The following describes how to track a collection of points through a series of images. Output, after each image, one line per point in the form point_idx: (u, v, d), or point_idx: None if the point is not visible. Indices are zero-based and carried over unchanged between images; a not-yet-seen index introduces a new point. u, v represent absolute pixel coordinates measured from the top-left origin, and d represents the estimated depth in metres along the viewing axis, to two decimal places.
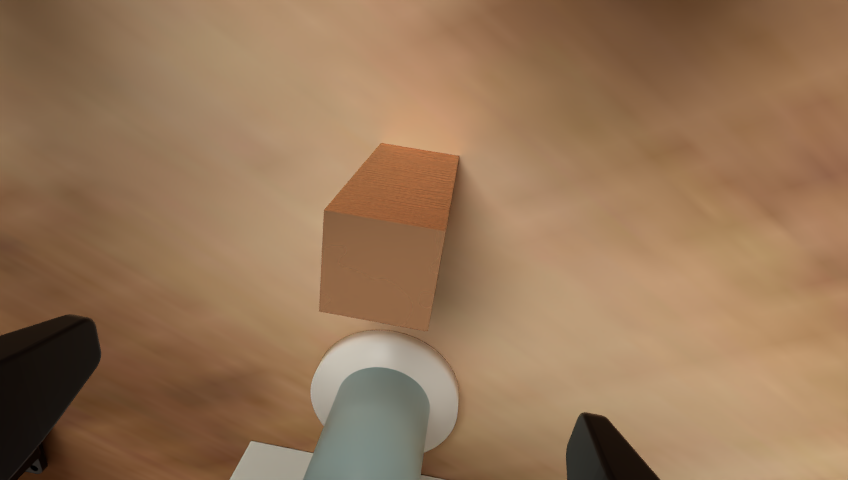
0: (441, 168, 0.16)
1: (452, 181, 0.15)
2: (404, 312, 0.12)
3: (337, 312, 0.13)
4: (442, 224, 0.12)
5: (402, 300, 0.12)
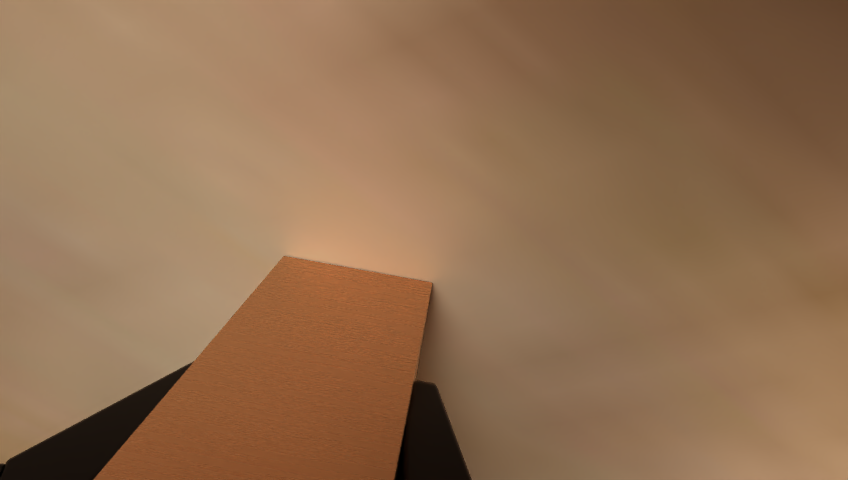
0: (387, 339, 0.07)
1: (405, 397, 0.06)
2: None
3: None
4: None
5: None
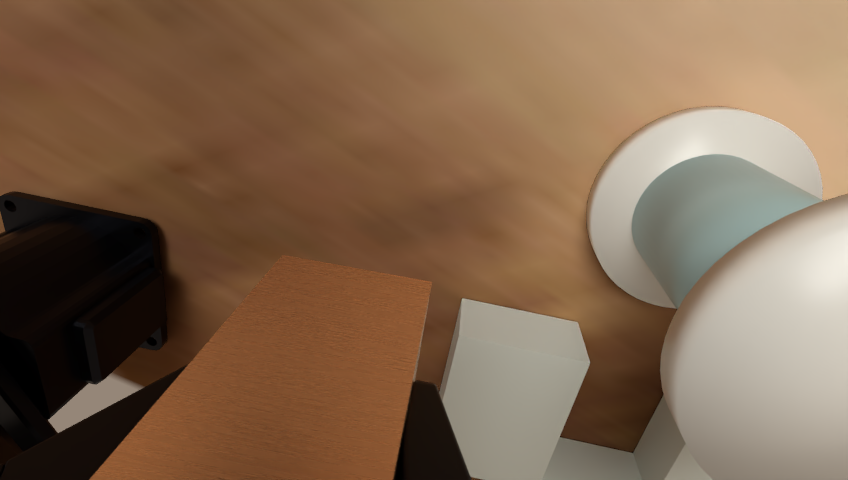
0: (387, 339, 0.07)
1: (404, 396, 0.06)
2: None
3: None
4: None
5: None
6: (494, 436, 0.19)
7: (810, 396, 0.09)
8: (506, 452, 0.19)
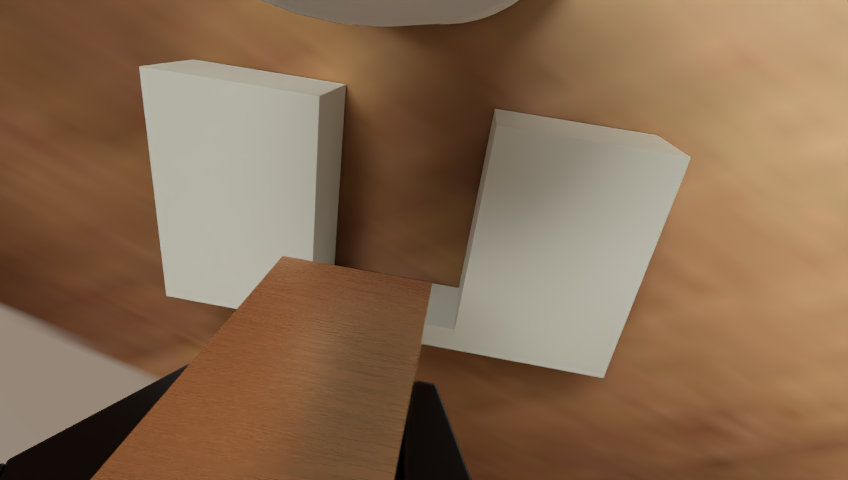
0: (387, 340, 0.07)
1: (405, 398, 0.06)
2: None
3: None
4: None
5: None
6: (233, 238, 0.14)
7: None
8: (255, 262, 0.14)
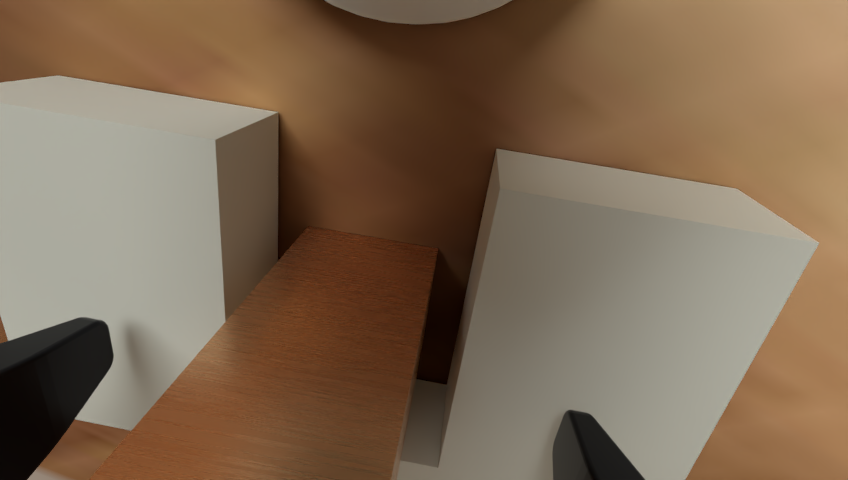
0: (400, 290, 0.09)
1: (417, 330, 0.08)
2: None
3: None
4: None
5: None
6: (111, 340, 0.09)
7: None
8: (146, 372, 0.10)
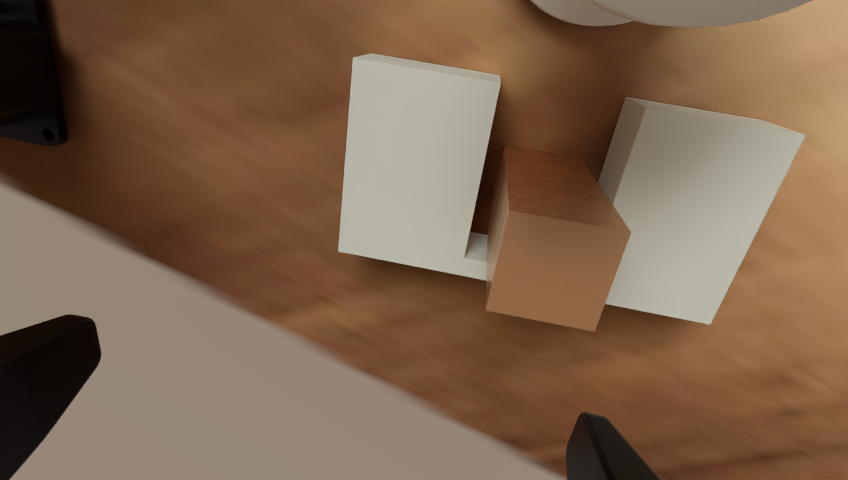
0: (577, 171, 0.16)
1: (597, 183, 0.15)
2: (573, 312, 0.13)
3: (502, 311, 0.13)
4: (624, 225, 0.12)
5: (574, 300, 0.12)
6: (406, 201, 0.17)
7: None
8: (421, 222, 0.17)
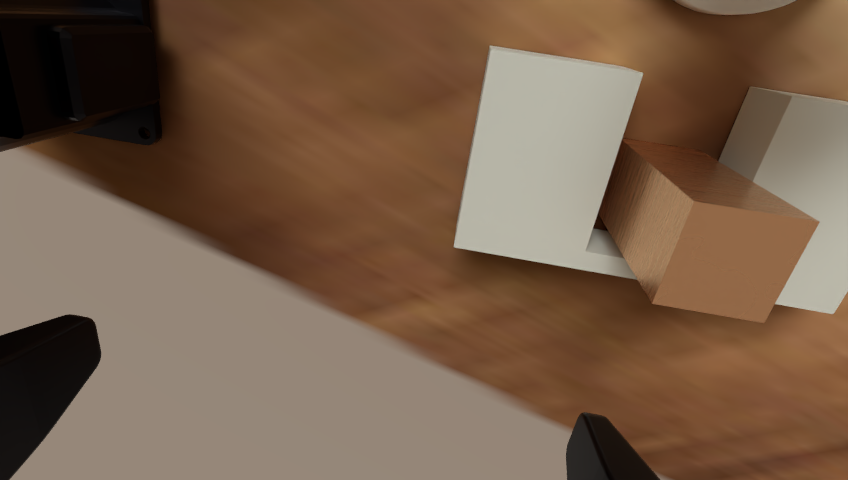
0: (708, 162, 0.16)
1: (738, 174, 0.15)
2: (745, 304, 0.12)
3: (668, 304, 0.13)
4: (806, 215, 0.12)
5: (747, 292, 0.12)
6: (530, 195, 0.16)
7: None
8: (544, 216, 0.17)
